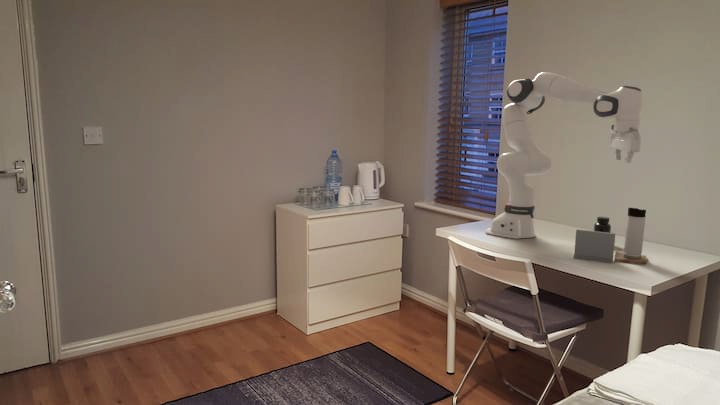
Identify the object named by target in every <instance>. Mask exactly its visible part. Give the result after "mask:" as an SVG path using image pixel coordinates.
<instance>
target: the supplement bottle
mask: <svg viewBox="0 0 720 405" xmlns="http://www.w3.org/2000/svg"><path fill="white" fill-rule="evenodd" d="M611 230H612V226H611V224H610V217H608V216H597V218H596V222H595V223H594V224H593V231H597V232H607V233H612V232H611Z"/></svg>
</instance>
